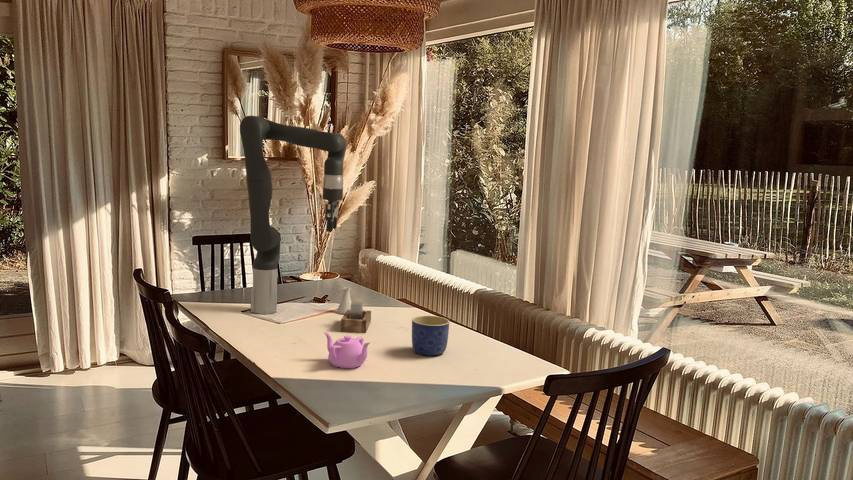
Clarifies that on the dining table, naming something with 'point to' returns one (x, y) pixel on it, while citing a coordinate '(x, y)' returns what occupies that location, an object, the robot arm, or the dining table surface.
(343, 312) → the flask
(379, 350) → the dining table surface
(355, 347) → the teapot
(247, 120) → the robot arm
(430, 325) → the planter
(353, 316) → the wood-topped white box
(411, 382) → the dining table surface
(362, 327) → the rectangular wooden frame
